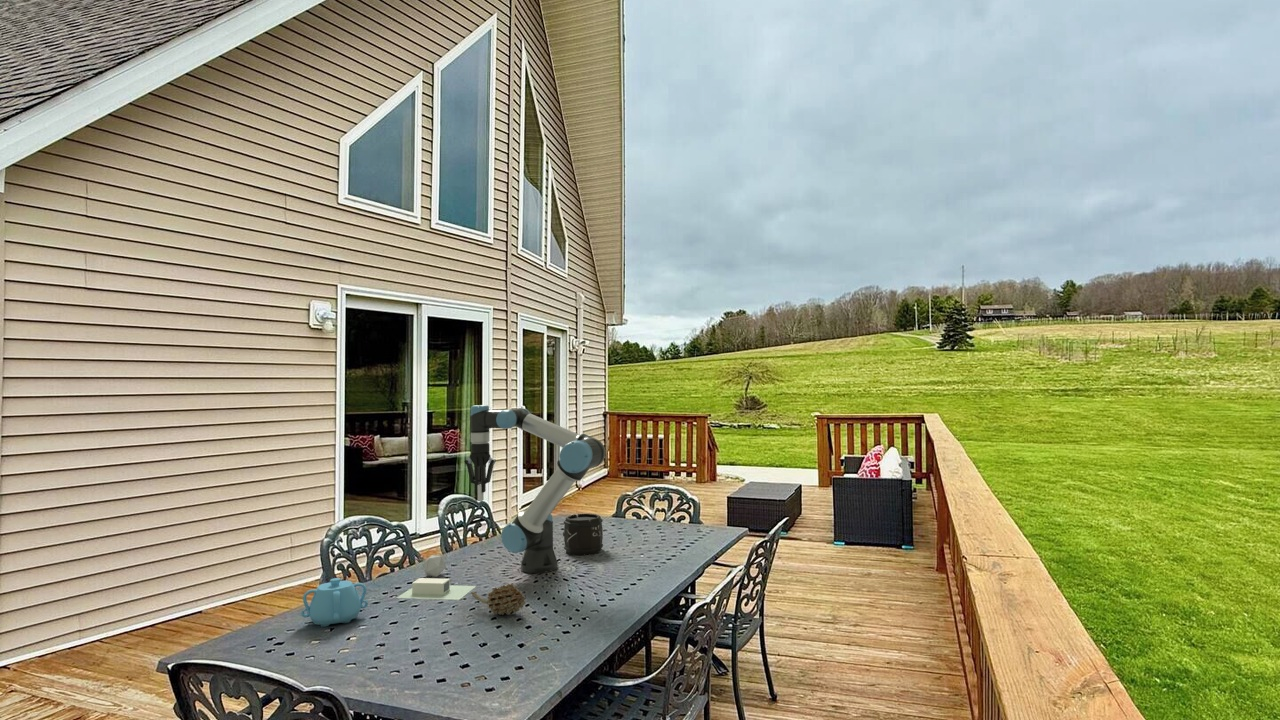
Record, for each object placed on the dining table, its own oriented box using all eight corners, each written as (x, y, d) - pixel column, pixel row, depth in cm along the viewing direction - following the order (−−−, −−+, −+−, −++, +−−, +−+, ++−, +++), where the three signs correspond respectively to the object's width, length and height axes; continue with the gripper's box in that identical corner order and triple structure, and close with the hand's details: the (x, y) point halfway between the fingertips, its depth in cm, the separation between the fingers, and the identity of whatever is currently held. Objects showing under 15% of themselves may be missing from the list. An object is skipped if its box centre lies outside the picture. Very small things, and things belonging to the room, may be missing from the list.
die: (450, 575, 270) (444, 553, 275) (442, 570, 263) (437, 548, 268) (430, 583, 269) (425, 561, 274) (422, 578, 262) (417, 556, 267)
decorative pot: (332, 633, 207) (332, 589, 208) (296, 625, 214) (296, 583, 214) (372, 616, 222) (372, 575, 223) (338, 609, 229) (338, 570, 229)
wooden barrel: (568, 546, 313) (568, 512, 314) (605, 546, 311) (605, 513, 311) (558, 556, 295) (558, 520, 296) (598, 556, 293) (597, 520, 293)
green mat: (476, 586, 252) (476, 586, 252) (459, 600, 236) (459, 599, 236) (416, 585, 256) (416, 584, 256) (396, 598, 240) (396, 598, 240)
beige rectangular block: (449, 578, 249) (419, 578, 250) (443, 583, 243) (412, 582, 244) (449, 589, 249) (419, 588, 250) (443, 594, 243) (412, 593, 244)
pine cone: (532, 612, 222) (531, 582, 223) (516, 621, 214) (515, 590, 214) (477, 605, 231) (476, 576, 231) (459, 614, 222) (459, 584, 222)
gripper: (498, 441, 276) (499, 498, 275) (468, 442, 277) (469, 498, 276) (492, 443, 268) (492, 502, 267) (461, 443, 270) (461, 502, 269)
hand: (480, 500), depth 272 cm, fingers closed
